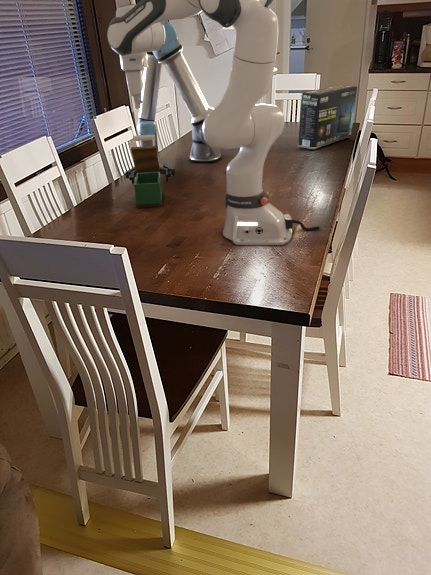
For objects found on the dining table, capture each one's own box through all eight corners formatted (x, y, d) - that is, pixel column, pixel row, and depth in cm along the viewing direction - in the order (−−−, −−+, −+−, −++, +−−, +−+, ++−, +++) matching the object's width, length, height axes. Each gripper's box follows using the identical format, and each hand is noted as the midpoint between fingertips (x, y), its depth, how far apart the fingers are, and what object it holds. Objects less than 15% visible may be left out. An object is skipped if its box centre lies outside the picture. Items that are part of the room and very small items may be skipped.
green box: (161, 206, 173) (159, 183, 169) (137, 207, 173) (133, 184, 168) (162, 193, 185) (160, 171, 180) (139, 195, 185) (136, 173, 180)
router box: (314, 151, 231) (318, 94, 217) (296, 148, 237) (299, 92, 224) (352, 138, 251) (358, 85, 238) (335, 135, 258) (340, 83, 245)
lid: (156, 148, 166) (155, 129, 169) (130, 149, 166) (130, 130, 169) (160, 171, 180) (159, 154, 183) (136, 172, 179) (135, 155, 182)
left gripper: (179, 171, 202) (182, 186, 184) (122, 174, 200) (119, 190, 182) (178, 153, 198) (180, 167, 180) (120, 157, 196) (116, 172, 178)
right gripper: (126, 59, 161) (131, 101, 168) (121, 65, 143) (127, 112, 150) (144, 58, 161) (149, 100, 168) (142, 64, 144) (147, 111, 151)
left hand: (149, 179), depth 181 cm, fingers open, 13 cm apart
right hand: (139, 106), depth 159 cm, fingers open, 8 cm apart
